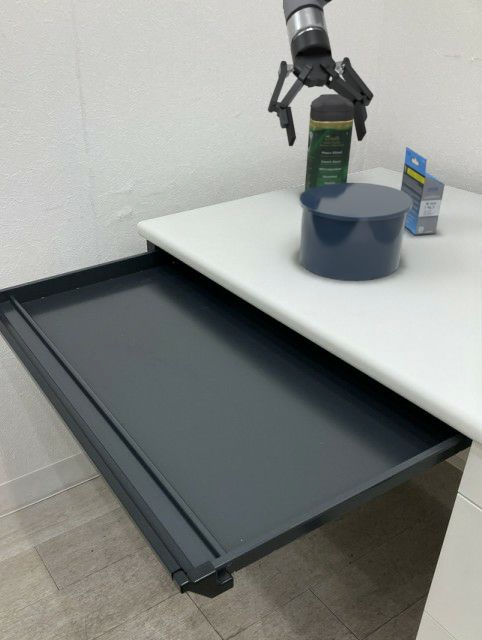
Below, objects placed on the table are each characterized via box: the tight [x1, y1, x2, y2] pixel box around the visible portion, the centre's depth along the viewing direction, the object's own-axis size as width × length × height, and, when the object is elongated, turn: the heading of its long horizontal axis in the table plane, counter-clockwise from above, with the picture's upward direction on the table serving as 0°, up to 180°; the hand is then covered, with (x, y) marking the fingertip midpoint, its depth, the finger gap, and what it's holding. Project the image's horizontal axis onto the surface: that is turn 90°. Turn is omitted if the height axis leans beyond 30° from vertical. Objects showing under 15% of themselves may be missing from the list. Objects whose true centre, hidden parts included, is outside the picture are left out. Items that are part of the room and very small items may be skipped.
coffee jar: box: [304, 93, 354, 192], centre depth 112 cm, size 10×8×19 cm
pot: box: [298, 182, 413, 282], centre depth 89 cm, size 16×16×10 cm
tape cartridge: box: [400, 146, 446, 236], centre depth 99 cm, size 9×4×12 cm, turn 5°
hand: (327, 139), depth 112 cm, fingers open, 13 cm apart
